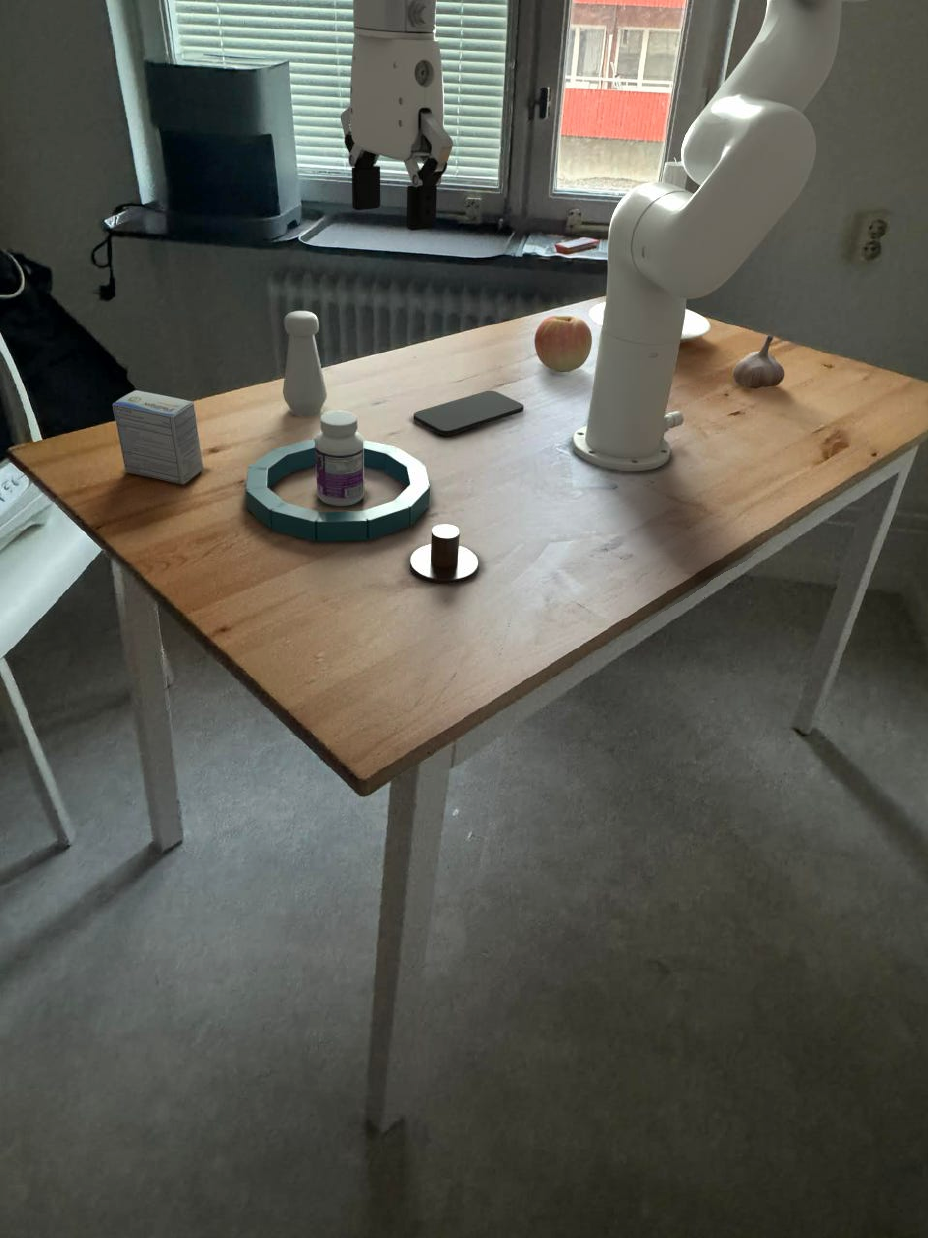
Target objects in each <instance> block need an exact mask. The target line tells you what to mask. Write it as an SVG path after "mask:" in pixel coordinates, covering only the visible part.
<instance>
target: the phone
mask: <svg viewBox="0 0 928 1238" xmlns="http://www.w3.org/2000/svg"><path fill="white" fill-rule="evenodd" d="M524 407H525V406H524V404H523V403H521V402H520V401H517V400H515V399H513V398H511V397H509V396H507V395H505V394H502V393H500V392H498V391H495V390H485V391H481V392H478V393H475V394H470V395H468V396H464V397H461V398H458V399H454V400H452V401H447V402H445V403H442V404H437V405H434V406H431V407H428V408H424V409H420V410H417V411H415V412H414V413H413V420H414V421H415V422H416V423H418V424H420V425H422V426H424V427H426V428H427V429H429V430H431V431H433V432H435V434H438V435H442V436H445V437H446V436H447V437H449V436H453V435H456V434H459V433H462V432H466V431H469V430H471V429H475V428H477V427H481V426H484V425H487V424H490V423H492V422H496V421H500V420H503V419H505V418H508V417H512V416H514V415H517V414H521V413H522V412H524Z"/></svg>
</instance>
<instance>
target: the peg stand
mask: <svg viewBox="0 0 928 1238" xmlns="http://www.w3.org/2000/svg"><path fill="white" fill-rule="evenodd" d="M460 535H461V531H460V529H459V528H458V527H457V526H456V525H452V524H447V523H442V524H437V525H435V526H434V527H433V528H432V529H431V541H430V542H431V543H430V544H425V545H423V546H420V547H419V548H417V549H415V550H414V551H413V552H412V553H411V555H410V558H409V567H410V569H411V571H412V572H413V574H415V575H416V576H417V577H419V578H421V579H422V580H424V581H427V582H429V583H435V584H442V585H450V584H457V583H458V584H459V583H462V582H465V581H467V580H469V579H471V578H473V577H474V576H475V575H476V574H477V572H478V569H479V559H478V557H477V555H476V554H475V553H474V552H473V551H471V550H470V549H469V548H467V547H464V546H461V545H460V538H461V537H460Z"/></svg>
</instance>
